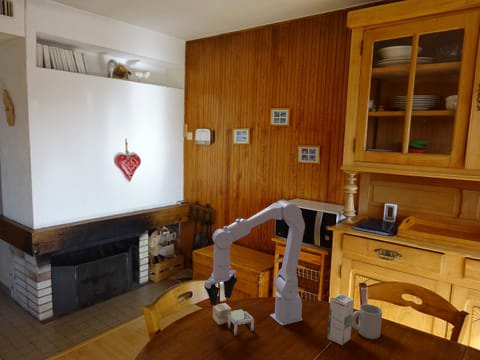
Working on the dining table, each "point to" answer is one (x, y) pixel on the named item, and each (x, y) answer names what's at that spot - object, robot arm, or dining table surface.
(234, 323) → the small white stool
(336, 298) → the syrup box
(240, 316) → the end pad
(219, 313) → the birch block
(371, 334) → the cup
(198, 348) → the dining table surface
